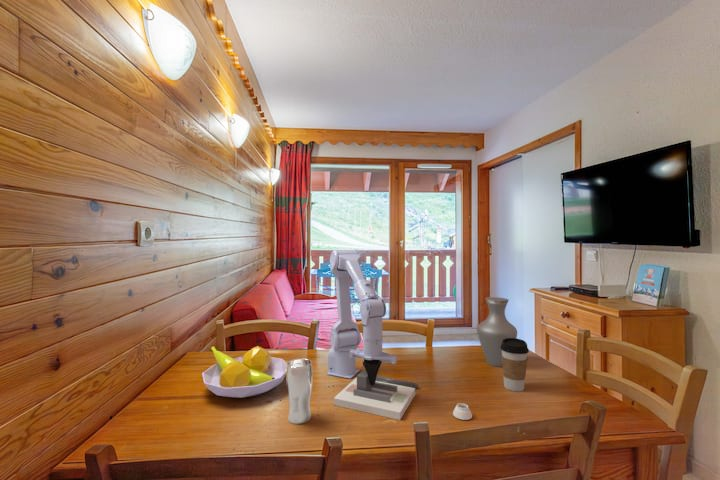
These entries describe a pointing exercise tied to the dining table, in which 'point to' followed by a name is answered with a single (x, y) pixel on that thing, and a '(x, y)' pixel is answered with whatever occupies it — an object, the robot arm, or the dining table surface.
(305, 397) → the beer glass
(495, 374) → the dining table surface
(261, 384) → the fruit bowl
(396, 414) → the white board with rails
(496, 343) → the vase
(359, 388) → the switch knob
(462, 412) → the lidless jar
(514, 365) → the coffee cup
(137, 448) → the dining table surface
